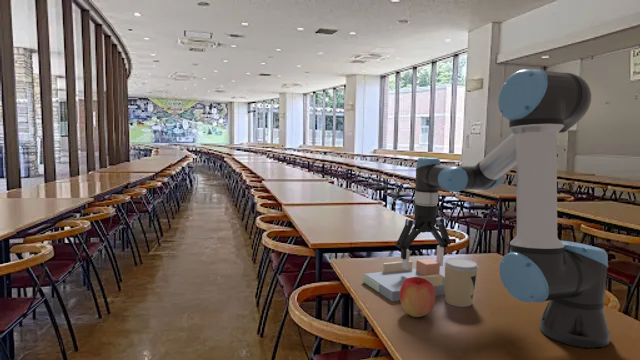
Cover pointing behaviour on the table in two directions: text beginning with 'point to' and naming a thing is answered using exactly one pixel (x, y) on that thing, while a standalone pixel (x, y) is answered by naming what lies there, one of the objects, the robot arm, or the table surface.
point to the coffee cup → (460, 281)
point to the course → (399, 280)
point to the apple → (417, 296)
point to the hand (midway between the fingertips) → (422, 266)
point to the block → (427, 267)
